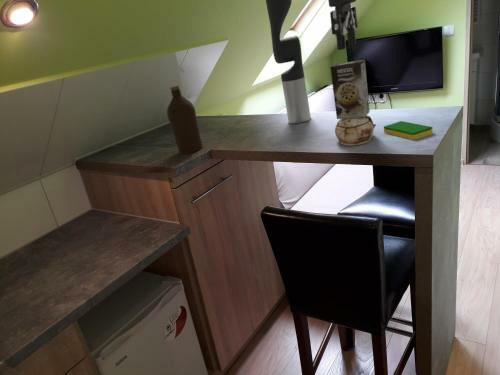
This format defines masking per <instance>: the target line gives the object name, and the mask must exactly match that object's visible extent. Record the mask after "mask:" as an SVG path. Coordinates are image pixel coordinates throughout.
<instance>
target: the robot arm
mask: <svg viewBox="0 0 500 375" xmlns="http://www.w3.org/2000/svg"><path fill="white" fill-rule="evenodd" d="M356 1H357V0H328V7H329V8H334V10H331V11H330V13H329V16H330V25H331V35H334V36H335V38H336V48H337V50H339V51H340V50H341V51H342V50H345V49H346V48H347V46H346V45H348V46H354V45H356V44H357V39H356V38H357V37H356V31H357V29H358V26H359V25H358V18H357V17H358V16H357V8H356V6H355V5H354V6H351V4H352V3H355V2H356ZM292 3H293V2H292V0H265V4H266V10H267V15H268V21H269V27H270V34H271V45H272V53H273V58H274V60H275V61H274V62H276V63H277V64H280V65H281V64H284V63H285V64H287V63H292V62H293V65H292V66H291V67H289V69H287V70H285V71H284V72H282V74H281V75H280V78H281V79H280V80H281V83H282V84H281V85H282V90H283V96H284V97H283V98H284V103H285V108H286V115H287V120H288V123H289V124H300V123H304V122H307V121H310V120H311V111H310V104H309V97H308V92H307V85H306V79H305V77H306V76H305V71H304V64H303V57H302V55H303V54H302V47H301V46H302V45H301V40H300V37H299V36H297V35H292V36H287V37H281V32H282V28H283V25H284V23H285V20H286V17H287V16H288V13H289V11H290V8H291V5H292ZM345 32H346V33H345ZM345 34H346V35H345ZM346 38H347V44H346Z"/></svg>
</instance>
